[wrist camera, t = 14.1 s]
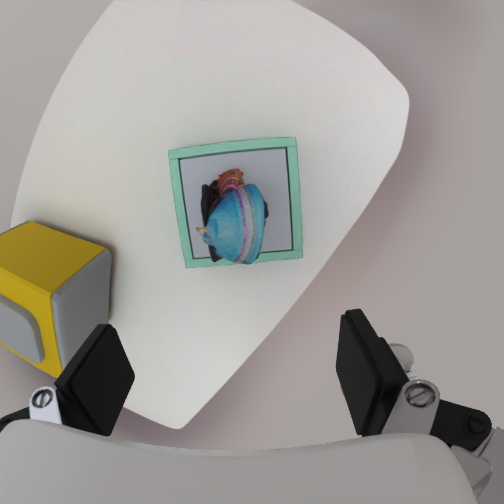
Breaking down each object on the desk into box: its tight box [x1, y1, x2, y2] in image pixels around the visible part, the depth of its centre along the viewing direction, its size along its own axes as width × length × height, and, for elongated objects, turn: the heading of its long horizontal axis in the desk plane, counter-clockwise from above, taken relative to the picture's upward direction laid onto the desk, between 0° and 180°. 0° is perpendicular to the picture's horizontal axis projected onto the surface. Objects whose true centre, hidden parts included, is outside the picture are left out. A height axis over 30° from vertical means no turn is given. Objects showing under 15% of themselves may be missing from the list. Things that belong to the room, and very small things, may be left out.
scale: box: [168, 137, 303, 268], centre depth 35 cm, size 16×16×3 cm
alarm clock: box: [0, 221, 112, 378], centre depth 32 cm, size 20×16×18 cm
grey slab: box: [180, 149, 292, 258], centre depth 35 cm, size 13×13×2 cm
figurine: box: [195, 168, 269, 264], centre depth 27 cm, size 10×7×15 cm
